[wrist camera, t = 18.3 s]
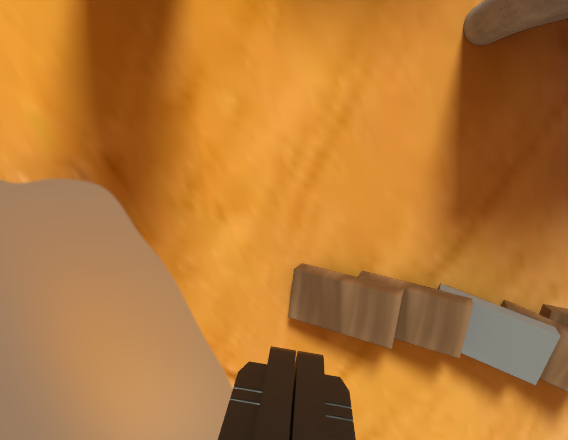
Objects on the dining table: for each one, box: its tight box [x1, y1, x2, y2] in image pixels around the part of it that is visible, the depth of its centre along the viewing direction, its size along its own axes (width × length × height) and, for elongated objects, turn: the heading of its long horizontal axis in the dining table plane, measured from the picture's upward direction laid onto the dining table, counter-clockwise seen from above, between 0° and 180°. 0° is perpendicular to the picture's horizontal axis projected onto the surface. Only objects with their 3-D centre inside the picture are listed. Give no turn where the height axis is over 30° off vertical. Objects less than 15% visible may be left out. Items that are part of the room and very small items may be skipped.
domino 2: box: [358, 271, 473, 358], centre depth 37 cm, size 2×5×10 cm
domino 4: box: [501, 300, 568, 392], centre depth 36 cm, size 2×5×10 cm
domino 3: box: [438, 284, 560, 385], centre depth 36 cm, size 2×5×10 cm
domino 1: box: [288, 264, 405, 349], centre depth 37 cm, size 2×5×10 cm
